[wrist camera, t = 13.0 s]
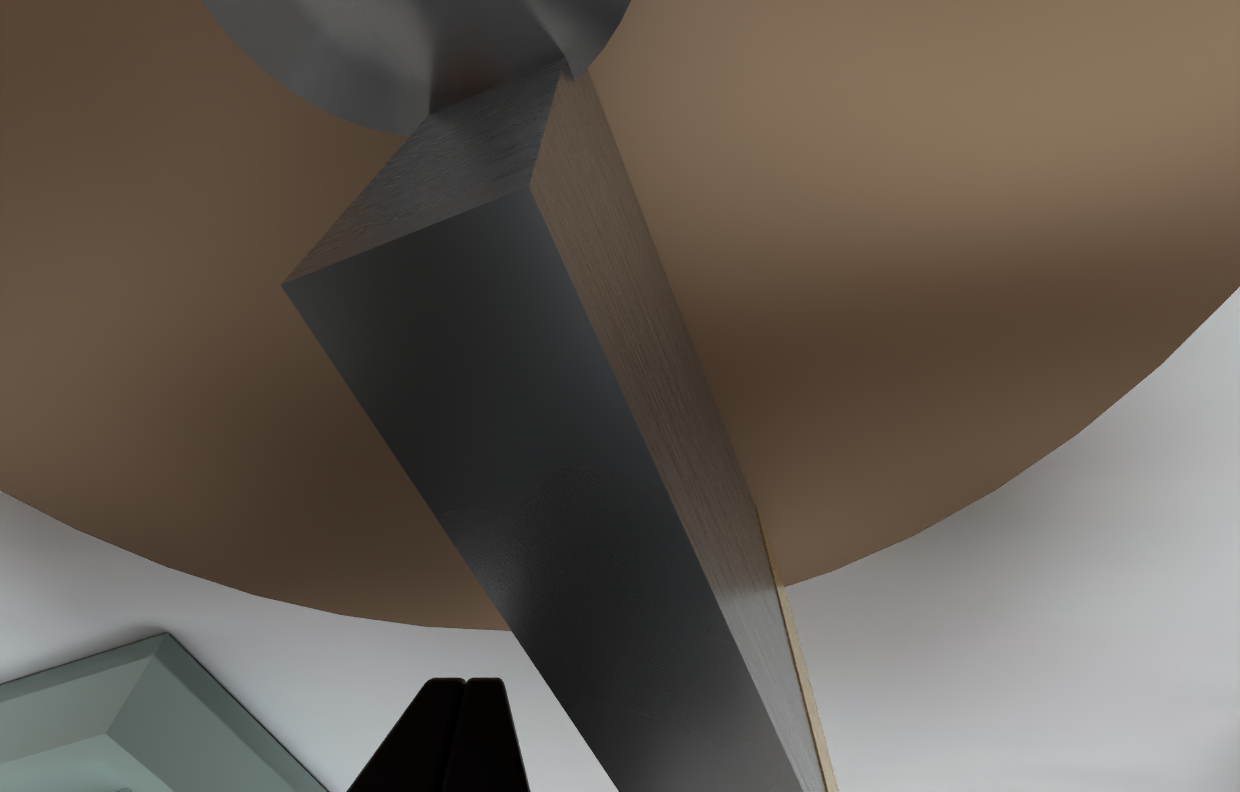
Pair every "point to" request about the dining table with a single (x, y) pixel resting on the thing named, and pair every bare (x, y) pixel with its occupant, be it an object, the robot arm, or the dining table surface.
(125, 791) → the block
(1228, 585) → the dining table surface
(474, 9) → the crank
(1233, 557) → the dining table surface
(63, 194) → the base
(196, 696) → the tray
